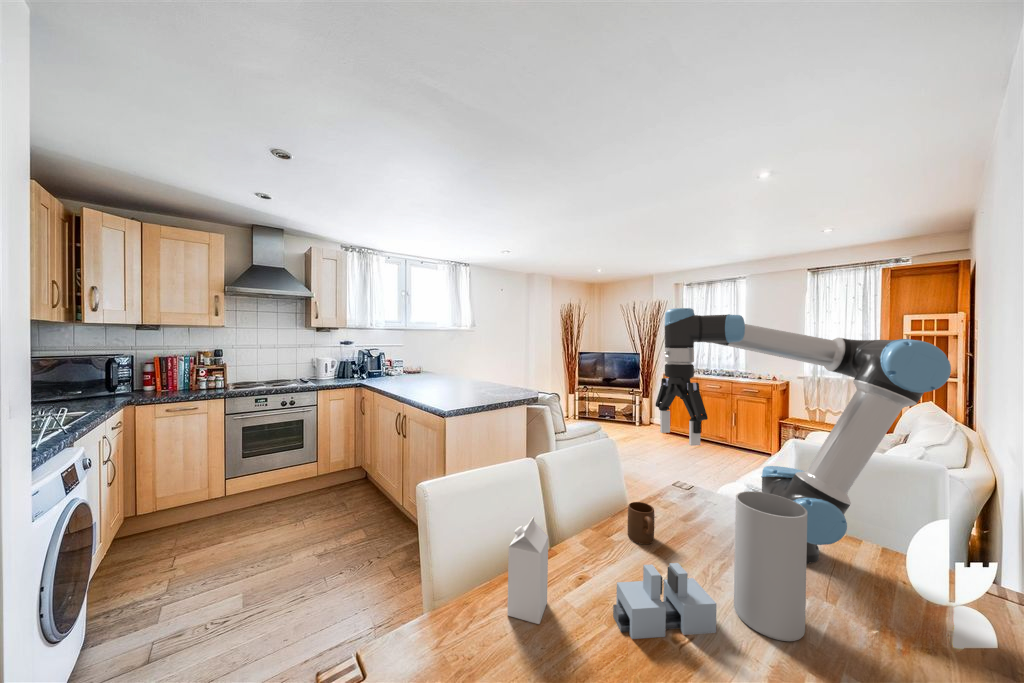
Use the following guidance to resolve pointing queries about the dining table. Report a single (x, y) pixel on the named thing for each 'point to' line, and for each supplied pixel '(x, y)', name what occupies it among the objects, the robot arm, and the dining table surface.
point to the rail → (624, 621)
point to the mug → (641, 522)
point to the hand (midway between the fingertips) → (679, 438)
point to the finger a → (644, 604)
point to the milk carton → (528, 573)
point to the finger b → (689, 601)
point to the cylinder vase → (770, 564)
